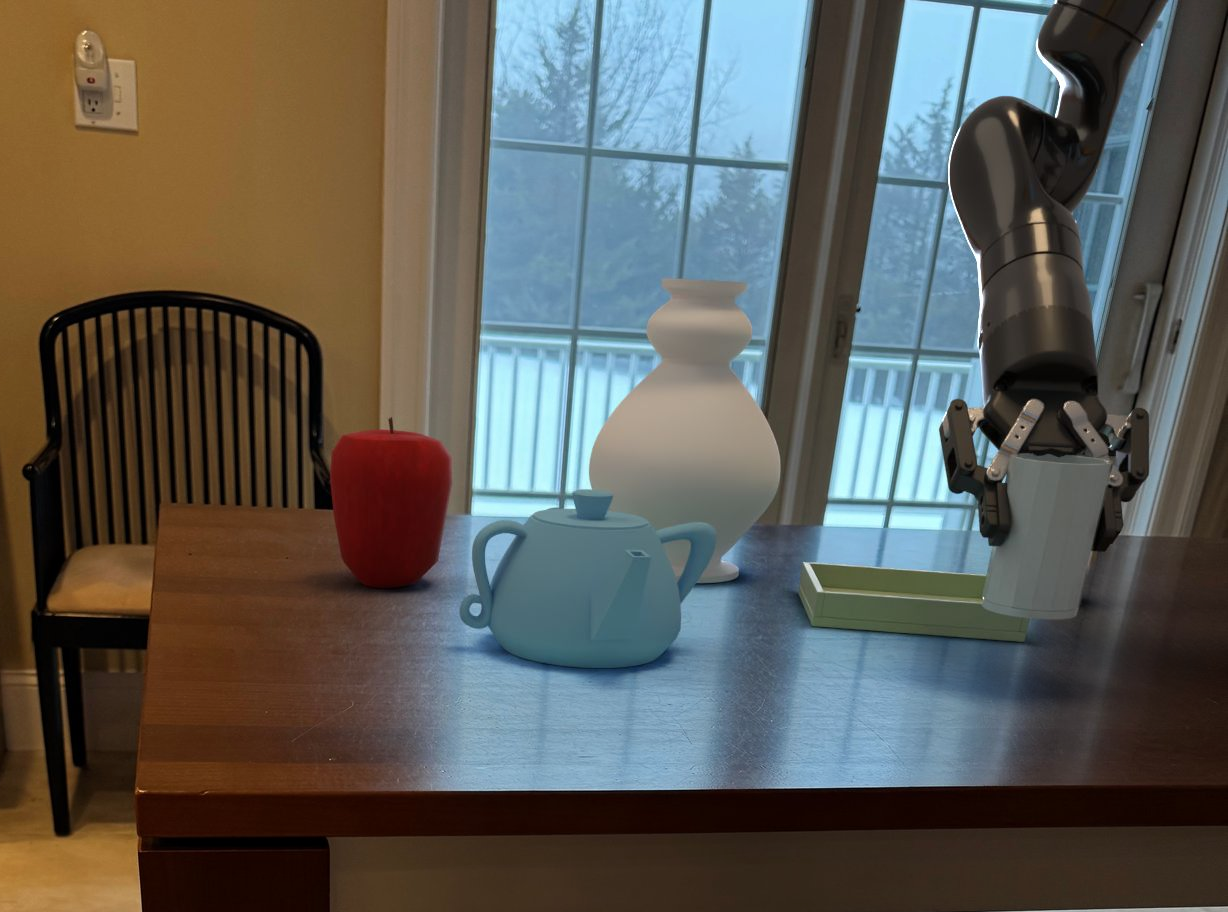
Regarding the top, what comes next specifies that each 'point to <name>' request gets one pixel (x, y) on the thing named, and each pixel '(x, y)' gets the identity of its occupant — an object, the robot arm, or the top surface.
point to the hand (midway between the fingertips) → (1052, 541)
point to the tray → (903, 602)
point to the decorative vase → (691, 429)
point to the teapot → (586, 585)
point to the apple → (390, 504)
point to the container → (1047, 536)
